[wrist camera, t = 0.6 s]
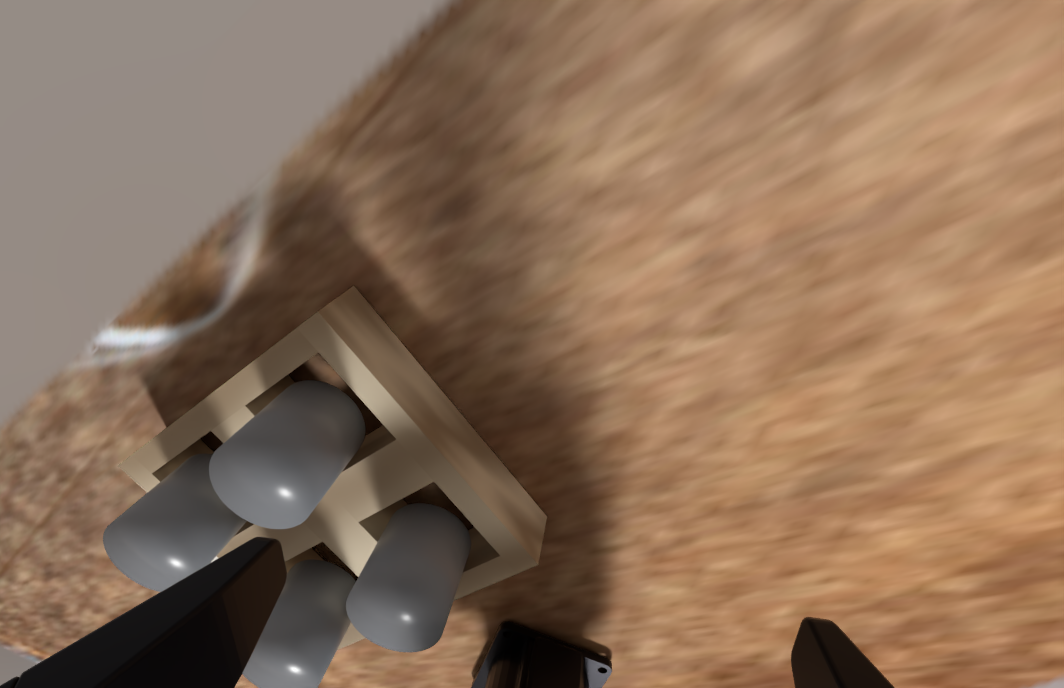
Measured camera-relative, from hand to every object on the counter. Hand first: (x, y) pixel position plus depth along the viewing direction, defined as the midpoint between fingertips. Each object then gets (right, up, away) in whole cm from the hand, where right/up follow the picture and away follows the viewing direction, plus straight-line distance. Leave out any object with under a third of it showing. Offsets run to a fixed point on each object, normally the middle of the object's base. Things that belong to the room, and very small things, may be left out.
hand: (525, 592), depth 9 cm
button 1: (-9, +1, +13) cm, 16 cm away
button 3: (-4, -4, +15) cm, 16 cm away
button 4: (-10, -8, +17) cm, 21 cm away
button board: (-9, -2, +18) cm, 20 cm away
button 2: (-14, -2, +15) cm, 21 cm away
